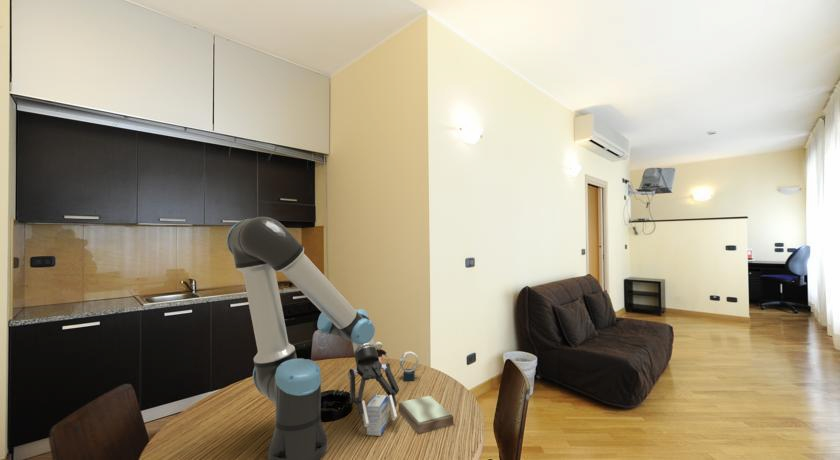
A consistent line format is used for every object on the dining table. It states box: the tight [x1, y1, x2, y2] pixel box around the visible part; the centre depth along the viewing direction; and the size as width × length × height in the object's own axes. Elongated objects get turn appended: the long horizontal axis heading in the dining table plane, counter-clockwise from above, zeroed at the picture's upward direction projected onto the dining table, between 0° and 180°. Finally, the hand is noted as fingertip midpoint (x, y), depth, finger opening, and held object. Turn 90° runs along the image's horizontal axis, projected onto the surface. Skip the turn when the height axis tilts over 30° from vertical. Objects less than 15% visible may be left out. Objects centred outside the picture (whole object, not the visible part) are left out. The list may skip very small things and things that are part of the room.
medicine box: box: [365, 394, 389, 437], centre depth 106 cm, size 8×4×9 cm, turn 169°
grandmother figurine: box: [375, 341, 388, 372], centre depth 155 cm, size 8×4×13 cm, turn 119°
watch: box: [398, 351, 419, 383], centre depth 145 cm, size 6×8×11 cm
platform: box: [398, 395, 454, 435], centre depth 112 cm, size 12×16×3 cm
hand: (381, 421), depth 103 cm, fingers closed on medicine box, 8 cm apart
